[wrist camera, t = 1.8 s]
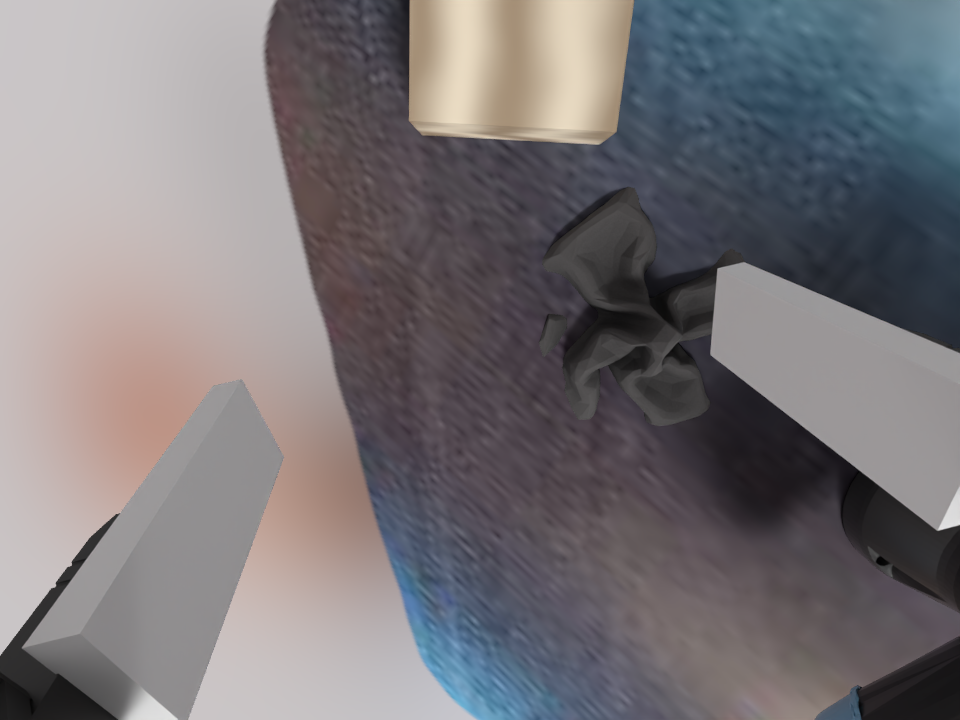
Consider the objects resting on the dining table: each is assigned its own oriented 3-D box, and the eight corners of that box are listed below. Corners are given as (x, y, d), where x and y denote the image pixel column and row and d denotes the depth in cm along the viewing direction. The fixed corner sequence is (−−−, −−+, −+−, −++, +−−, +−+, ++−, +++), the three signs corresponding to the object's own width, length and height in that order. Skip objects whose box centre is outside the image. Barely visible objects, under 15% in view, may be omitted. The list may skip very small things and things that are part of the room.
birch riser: (627, -79, 28) (652, -139, 24) (599, 144, 32) (616, 131, 28) (425, -87, 29) (410, -148, 24) (422, 135, 33) (409, 120, 28)
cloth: (566, 167, 34) (579, 157, 28) (794, 237, 34) (854, 241, 28) (484, 423, 40) (482, 458, 34) (676, 476, 41) (706, 519, 35)
